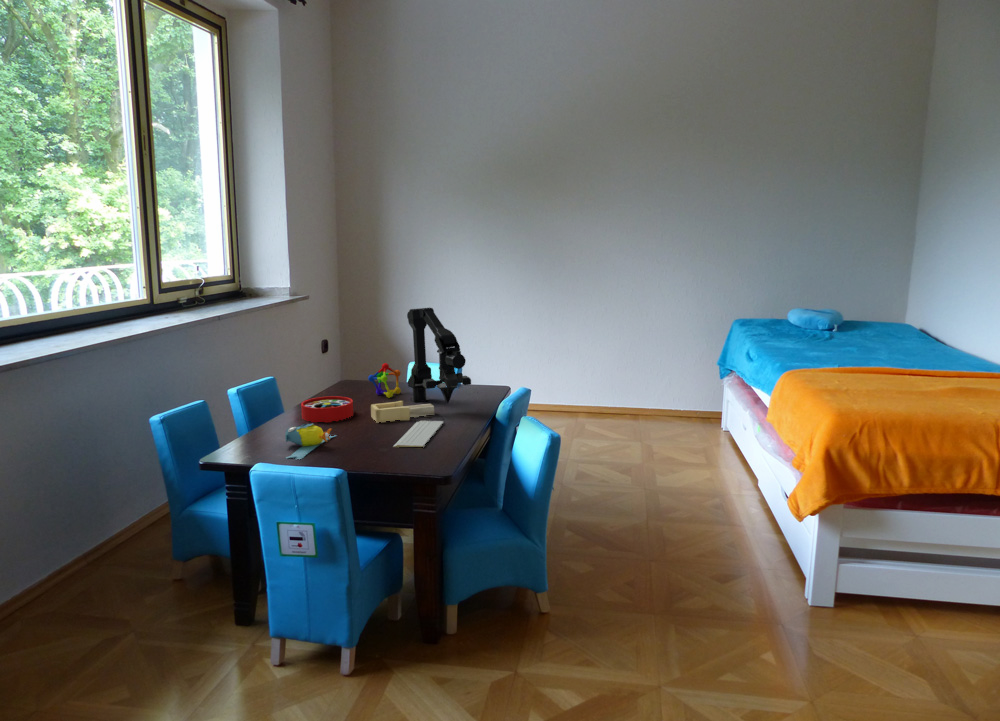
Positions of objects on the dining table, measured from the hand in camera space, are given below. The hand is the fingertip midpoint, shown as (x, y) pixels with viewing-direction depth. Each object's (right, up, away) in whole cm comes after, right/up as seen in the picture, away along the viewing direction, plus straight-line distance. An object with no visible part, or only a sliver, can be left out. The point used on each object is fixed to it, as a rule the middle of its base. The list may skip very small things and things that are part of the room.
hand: (447, 402), depth 286 cm
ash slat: (-16, -5, -6) cm, 18 cm away
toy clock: (-47, -5, -3) cm, 48 cm away
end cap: (-22, -5, -8) cm, 24 cm away
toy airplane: (-44, -13, -43) cm, 63 cm away
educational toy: (-30, +1, +30) cm, 43 cm away
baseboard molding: (-8, -10, -30) cm, 33 cm away
